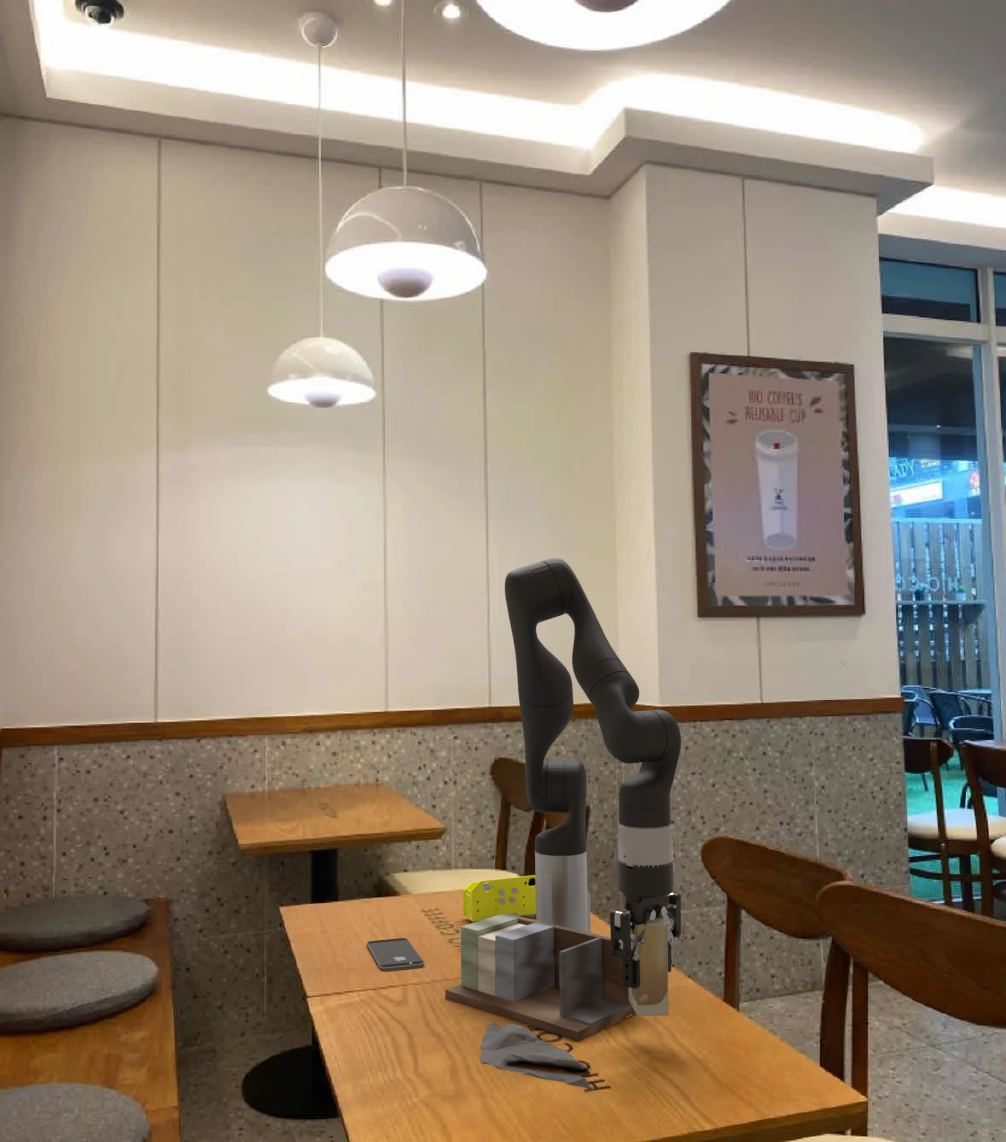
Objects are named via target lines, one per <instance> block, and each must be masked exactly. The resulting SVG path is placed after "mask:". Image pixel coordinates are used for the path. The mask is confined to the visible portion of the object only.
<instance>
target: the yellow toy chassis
mask: <svg viewBox="0 0 1006 1142" xmlns="http://www.w3.org/2000/svg"><path fill="white" fill-rule="evenodd" d="M462 911H463V912H462V915H463V916H465V917H466V919H468V920H469V921H471V923H474V922H478V921H481V920H484V919H488V918H491V917H494V916H498V915H501V914H504V913H507V914H511V915H516V916H520V917H524V918H533V917H536V882H535V874H533V875H524V876H514V877H505V878H495V879H485V880H480V881H476V882H475V881H474V882H470V884H469V885H467V886H466V887H465V888H464V889H463V890H462Z"/></svg>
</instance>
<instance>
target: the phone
mask: <svg viewBox="0 0 1006 1142" xmlns="http://www.w3.org/2000/svg"><path fill="white" fill-rule="evenodd" d="M367 947H368V948H367ZM366 948H367V950H368V951H369V953H370V955H371V957H372V958H373V960H374V962H375V963H376V966H377V967H378V968H379V970H380V971H382V972H391V971H402V970H412V969H420V968H423V967H424V966H425V961H424V960H423V959H422V957H421V955H419V952H417V950H416V949H415V948H414V946H413V945H412V943H411V942H410V941H409V940H408V939H407V938H404V937H400V938H399V937H398V938H390V939H389V938H387V939H380V940H379V939H377V940H370V941H367V943H366Z"/></svg>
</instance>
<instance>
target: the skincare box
mask: <svg viewBox="0 0 1006 1142" xmlns="http://www.w3.org/2000/svg"><path fill="white" fill-rule="evenodd" d="M644 929H645V930H646V943H645V944H641V952H640V955H639V958H638V960H640V986H639V987H638V988H636V989H633V988H630V987H629V1001H630V1003H631V1005H632V1007H633V1009H634V1011H635V1012H636V1013H635V1014H636V1015H637V1017H658V1016H660V1017H661V1016H669V973H668V925H667V924H666V922H665V921H664V920H663V918H659V917H658V918H655V920H654V923H650V924H647V925H644V924H641V925H636V924H635V929H634V931H633V930H632V928H631V934H634V935H637V936H639V934H640V933H641V932H642V931H643V930H644ZM634 944H635V942H631V950H633V947H634Z"/></svg>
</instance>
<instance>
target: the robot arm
mask: <svg viewBox="0 0 1006 1142" xmlns="http://www.w3.org/2000/svg"><path fill="white" fill-rule="evenodd" d="M504 597H505V603H506V609H507V614H508V619H509V625H510V629H511V635H512V640H513V646H514V654H515V655H514V656H515V663H516V676H517V679H516V680H517V692H518V693H517V694H518V703H519V710H520V717H521V725H522V732H523V739H524V740H523V741H524V761H525V762H524V763H525V766H524V767H525V768H524V769H525V770H524V771H525V792H526V798H527V802H528V805H529V808H531V809H532V810H533V811H534V812H538V813H553V814H554V813H558V814H559V813H561V814H563V813H565V814H566V813H567V814H568V817H567V818H566V820H565V821H563V822H561V823H560V824H559V825H557V826H554V827H552V828H549V829H545V830H543V831H541V832H539V833H537V834H536V836H535V838H534V857H535V858H534V862H535V863H534V864H535V865H534V869H535V870H534V871H535V874H534V875H535V882H536V916H535V920H537V921H541V922H546V923H550V924H554V925H559V926H563V927H567V928H571V929H576V930H580V931H584V932H589V933H592V932H591V894H590V892H589V891H588V883H587V882H588V874H587V871H588V869H587V835H586V831H587V830H586V825H587V824H586V819H587V818H586V817H587V816H586V815H587V814H586V812H587V795H588V794H587V791H588V789H587V788H588V787H587V786H588V785H587V784H588V782H587V781H588V780H587V779H588V778H587V770H586V767H585V765H584V764H583V762H582V761H579V760H545V758H546V757H547V753H548V751H549V750H550V748H551V746H552V745H553V743H555V741H556V740H557V739H558V738H559V737H560V735H561V734H562V732H563V731H564V730H565V728H566V727H567V726H568V724H569V722H570V721H571V718H572V717H573V714H574V708H575V707H574V705H575V704H574V688H573V681H572V677H571V673H570V672H569V670H568V669H567V667H566V666H565V665H564V663H563V662H561V661H560V660H559V659H558V658H557V657H556V656H555V654H553V653H552V652H550V650H548V649H547V647H546V646H545V645H544V644H543V643H542V642H541V640H540V639H539V636H538V634H537V626H538V624H539V623H542V622H546V621H548V620H552V619H554V618H558V617H561V616H563V615H568V616H569V617H570V620H571V621H572V623H573V626H574V636H573V643H572V644H573V645H572V646H573V647H572V653H571V654H572V655H571V665H572V671H573V675H574V677H575V679H576V681H577V683H578V685H579V687H581V689H582V691H583V693H584V694H585V696H586V697H587V699H588V700H589V701H590V703H591V705H592V706H593V707H594V711H595V714H596V718H597V721H598V724H599V728H600V732H601V735H602V739H603V743H604V745H605V748H606V749H607V751H608V753H609V754H610V755H611V756H612V757H613V758H614V759H616V760H617V761H618V762H620V763H623V764H639V763H641V765H640V768H639V771H638V773H637V774H636V775H635V776H634V777H632V778H630V779H627V780H626V781H624V782H622V783H621V785H620V787H619V790H618V816H619V817H618V819H619V820H618V823H619V824H618V835H617V864H618V865H617V867H618V868H617V870H618V871H617V872H618V873H617V874H618V875H617V877H618V879H617V880H618V890H619V891H620V892H621V893H622V894H623V895H624V897H625V902H624V906H623V909H620V910H614V909H613V910H611V911H610V912H609V927H610V928H609V929H610V938H611V954H612V955H613V956H617V957H621V958H622V961H623V982H624V985H625V986H626V987H630V988H633V989H636V988H638V987H639V986H640V960H638V958H639V955H640V952H641V944H645V943H646V930H645V929H644V930H643V931H642V932H641V933H640V934H639V936H637V935H634V934H631V928H632V930H633V931H634V929H635V924H636V925H641V924H644V925H647V924H650V923H654V920H655V918H658V917H659V918H663V920H664V921H665V922H666V924H667V925H668V974H669V973H670V972H671V971H672V962H673V961H672V946H673V944H674V943H675V938H679V937H681V934H682V896H681V894H680V893H676V892H674V890H675V889H674V888H675V887H674V886H675V885H674V884H675V883H674V881H675V880H674V841H673V834H672V828H671V827H672V826H671V799H670V798H671V791H672V787H673V784H674V779H675V777H676V776H675V775H676V770H677V766H678V762H679V758H680V754H681V749H682V747H681V746H682V734H681V731H680V727H679V724H678V722H677V720H676V718H675V717H674V716H673V715H672V714H671V713H670V712H668V711H667V710H663V709H650V710H648V709H647V710H634V711H632V709H633V707H634V706H636V704H637V702H638V701H639V699H640V698H639V697H640V689H639V686H638V684H637V682H636V681H635V679H634V678H633V676H632V674H631V673H630V672H629V670H628V669H627V667H626V666H625V664H624V663H623V662H622V660H621V659H620V657H619V656H618V655H617V653H616V652H615V650H614V648H613V647H612V645H611V643H610V642H609V640H608V638H607V636H606V634H605V632H604V630H603V628H602V626H601V623H600V621H599V620H598V618H597V617H598V616H597V615H596V613H595V611H594V608H593V606H592V605H591V603H590V601H589V598H588V597H587V595H586V593H585V590H584V589H583V587H582V585H581V582H580V580H579V578H578V577H577V575H576V574H575V571H574V570H573V569H572V567H571V566H570V565H569V563H567V562H566V561H565V560H564V559H563V558H559V557H552V558H548V559H544V560H541V561H538V562H535V563H531V564H528V565H526V566H521V567H518V568H515V569H514V570H511V571H510V572H508V573H507V574H506V577H505V580H504ZM670 919H671V920H673V926H672V923H671V921H670ZM619 940H622V944H621V947H619ZM631 942H635V944H634V947H633V950H631Z"/></svg>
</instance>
